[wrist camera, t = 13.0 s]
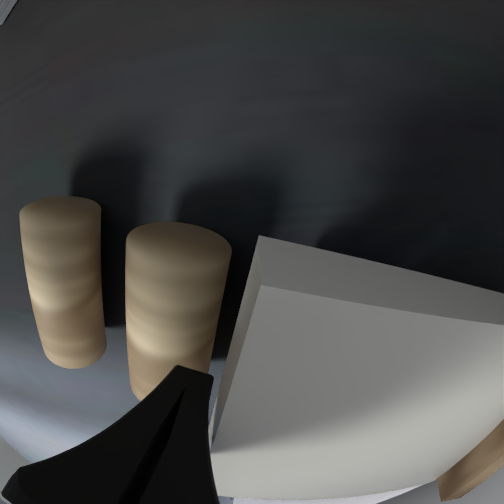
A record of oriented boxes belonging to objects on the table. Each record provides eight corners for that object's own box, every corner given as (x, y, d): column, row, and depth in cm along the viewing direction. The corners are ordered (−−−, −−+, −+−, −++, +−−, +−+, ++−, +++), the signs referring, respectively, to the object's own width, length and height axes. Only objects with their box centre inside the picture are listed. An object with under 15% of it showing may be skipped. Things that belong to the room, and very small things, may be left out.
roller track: (434, 405, 16) (448, 452, 12) (67, 313, 17) (30, 349, 13) (502, 307, 12) (536, 351, 9) (57, 191, 13) (3, 214, 10)
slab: (422, 452, 14) (432, 481, 12) (202, 451, 13) (197, 492, 11) (540, 303, 9) (568, 332, 7) (258, 235, 8) (261, 285, 6)
